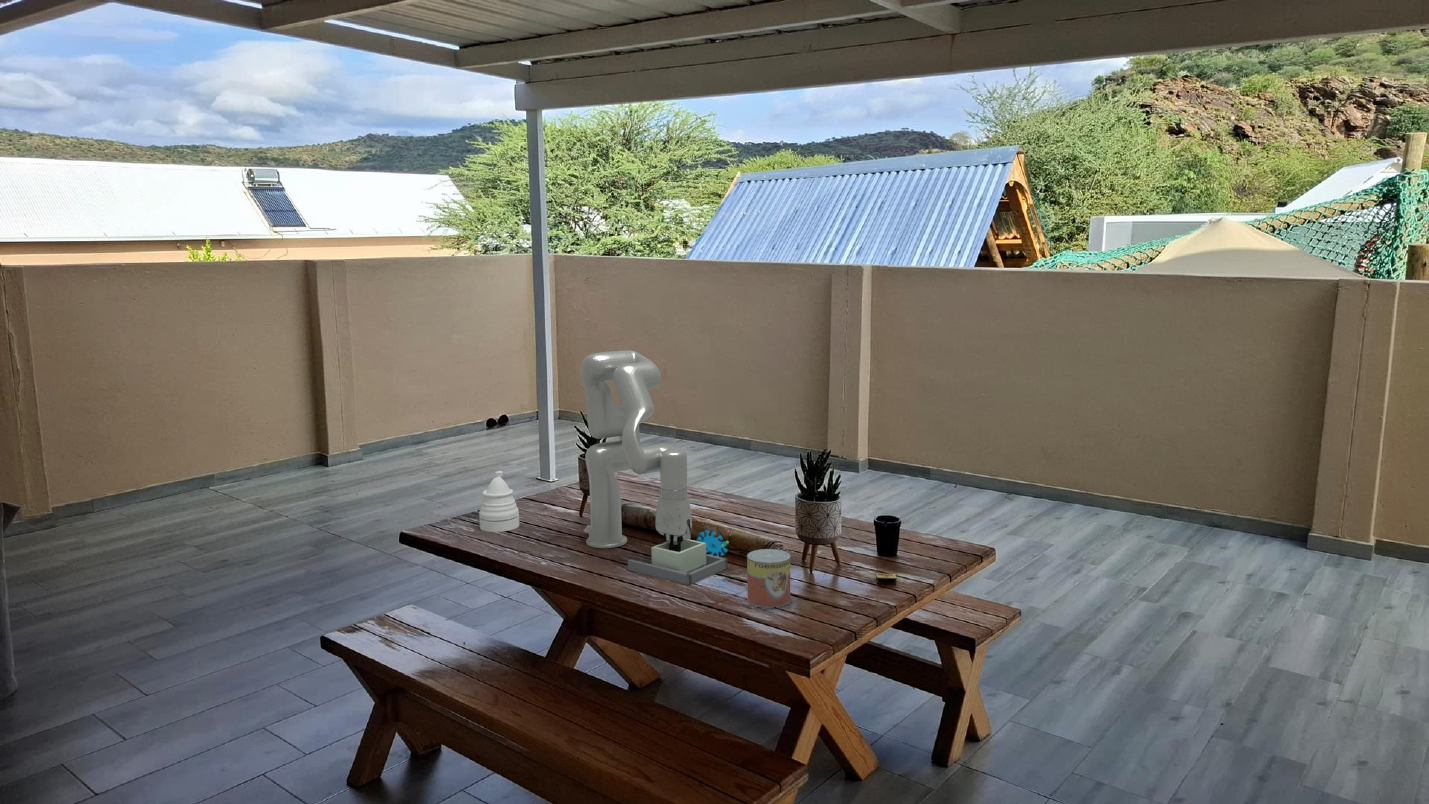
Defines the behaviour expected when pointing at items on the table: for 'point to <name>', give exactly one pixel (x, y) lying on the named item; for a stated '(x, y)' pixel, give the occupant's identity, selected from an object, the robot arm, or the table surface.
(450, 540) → the table surface
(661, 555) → the box
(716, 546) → the gear
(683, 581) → the bay
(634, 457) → the robot arm
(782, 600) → the canned food
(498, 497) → the honey pot
